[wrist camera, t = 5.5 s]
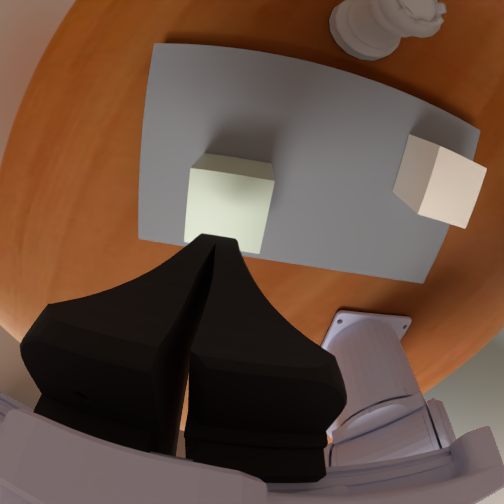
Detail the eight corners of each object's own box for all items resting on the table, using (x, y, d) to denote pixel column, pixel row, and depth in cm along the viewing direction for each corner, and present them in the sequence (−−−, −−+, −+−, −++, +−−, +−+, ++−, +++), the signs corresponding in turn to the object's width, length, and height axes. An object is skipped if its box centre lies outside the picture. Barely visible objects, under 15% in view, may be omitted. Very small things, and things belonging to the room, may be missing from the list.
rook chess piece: (312, 17, 13) (348, -28, 6) (365, -8, 12) (421, -51, 5) (355, 72, 15) (416, 64, 8) (404, 45, 14) (479, 32, 7)
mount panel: (416, 273, 22) (435, 302, 19) (145, 229, 21) (125, 257, 17) (468, 127, 16) (502, 138, 12) (161, 46, 14) (138, 36, 11)
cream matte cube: (437, 205, 18) (465, 228, 14) (392, 191, 17) (417, 214, 14) (454, 153, 16) (487, 168, 12) (409, 134, 15) (440, 145, 12)
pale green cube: (259, 224, 19) (259, 254, 16) (196, 214, 19) (183, 241, 15) (271, 163, 17) (274, 181, 14) (204, 152, 17) (190, 167, 13)
